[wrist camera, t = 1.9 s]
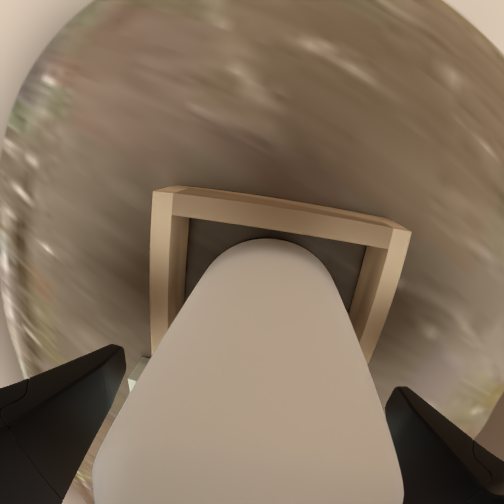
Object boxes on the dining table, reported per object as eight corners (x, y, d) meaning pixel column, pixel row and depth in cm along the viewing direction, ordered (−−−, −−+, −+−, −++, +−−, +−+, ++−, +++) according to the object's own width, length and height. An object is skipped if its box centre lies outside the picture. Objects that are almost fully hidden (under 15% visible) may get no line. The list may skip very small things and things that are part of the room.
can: (181, 322, 15) (66, 536, 3) (236, 209, 13) (42, 467, 1) (291, 373, 15) (288, 595, 4) (361, 276, 13) (488, 526, 2)
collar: (337, 386, 15) (343, 417, 13) (169, 360, 16) (154, 389, 13) (389, 218, 12) (411, 231, 10) (175, 185, 13) (153, 190, 10)
